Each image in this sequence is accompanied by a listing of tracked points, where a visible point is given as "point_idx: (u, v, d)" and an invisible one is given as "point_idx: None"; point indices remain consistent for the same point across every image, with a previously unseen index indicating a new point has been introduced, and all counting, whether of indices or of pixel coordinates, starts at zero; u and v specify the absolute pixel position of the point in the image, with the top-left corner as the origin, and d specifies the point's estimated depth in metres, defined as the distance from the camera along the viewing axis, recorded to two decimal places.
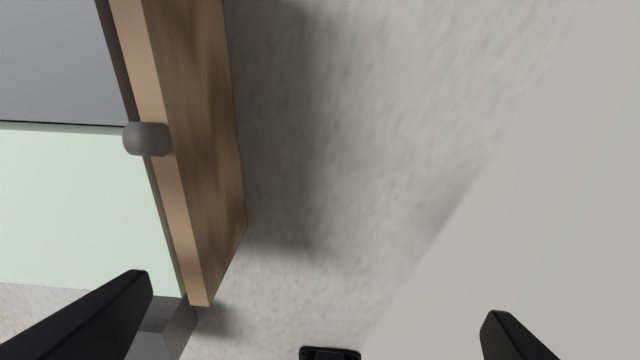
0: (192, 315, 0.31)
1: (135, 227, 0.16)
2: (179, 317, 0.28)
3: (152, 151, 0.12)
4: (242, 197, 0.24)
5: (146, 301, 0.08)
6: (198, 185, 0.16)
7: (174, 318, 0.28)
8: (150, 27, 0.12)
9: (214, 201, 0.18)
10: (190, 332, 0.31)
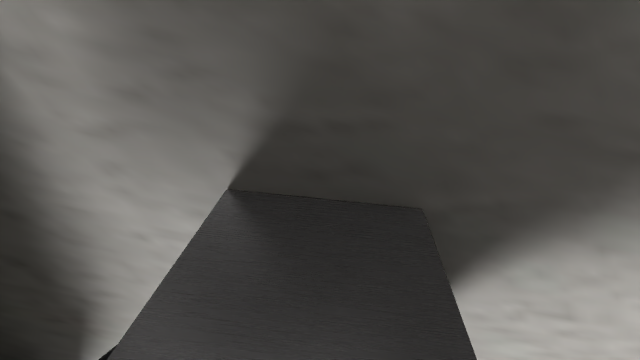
0: (356, 217, 0.07)
1: None
2: (240, 264, 0.06)
3: None
4: None
5: None
6: None
7: (193, 286, 0.05)
8: None
9: None
10: (421, 251, 0.06)
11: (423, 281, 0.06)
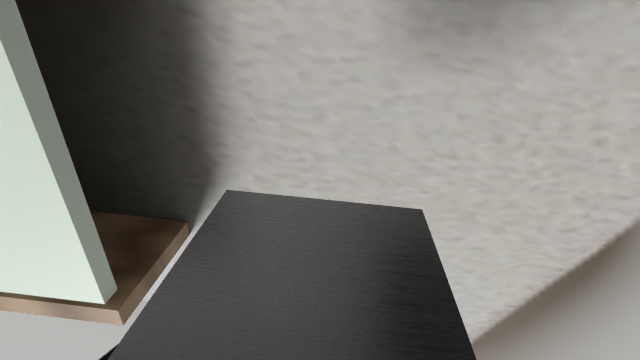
0: (356, 217, 0.07)
1: None
2: (241, 264, 0.06)
3: None
4: None
5: None
6: None
7: (193, 286, 0.05)
8: None
9: None
10: (421, 251, 0.06)
11: (423, 281, 0.06)
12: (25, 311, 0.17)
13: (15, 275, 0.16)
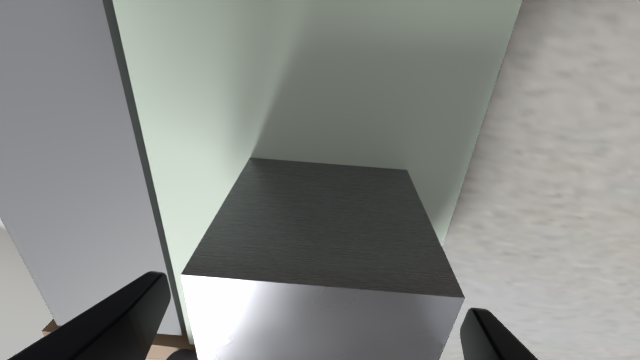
0: (356, 175, 0.09)
1: (311, 39, 0.08)
2: (272, 203, 0.08)
3: None
4: None
5: (164, 303, 0.08)
6: None
7: (240, 216, 0.07)
8: None
9: None
10: (406, 195, 0.08)
11: (408, 212, 0.08)
12: None
13: None
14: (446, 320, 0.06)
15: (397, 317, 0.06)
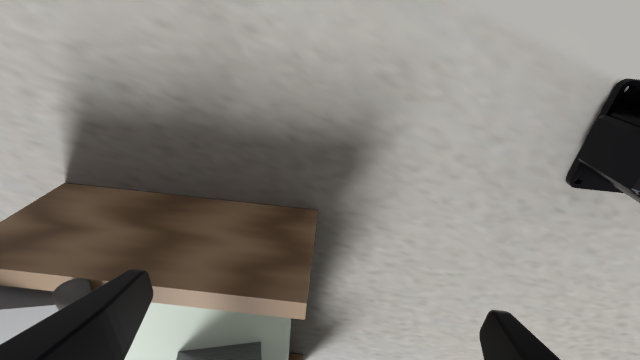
0: (234, 354, 0.19)
1: (203, 309, 0.18)
2: None
3: (65, 302, 0.14)
4: (274, 209, 0.22)
5: (146, 301, 0.08)
6: (165, 264, 0.16)
7: None
8: (4, 265, 0.15)
9: (212, 250, 0.18)
10: None
11: None
12: None
13: None
14: None
15: None
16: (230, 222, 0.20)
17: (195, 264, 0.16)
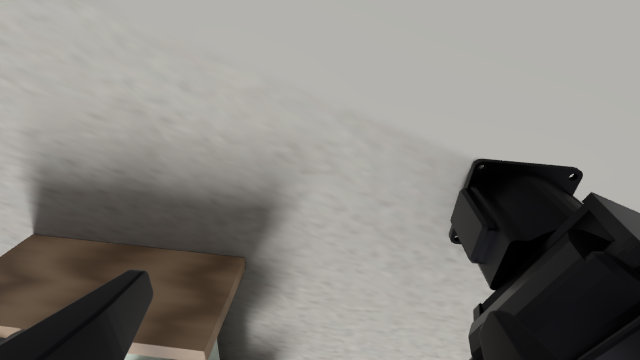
0: None
1: None
2: None
3: None
4: (206, 257, 0.25)
5: (146, 301, 0.08)
6: None
7: None
8: None
9: None
10: None
11: None
12: None
13: None
14: None
15: None
16: (164, 272, 0.23)
17: None
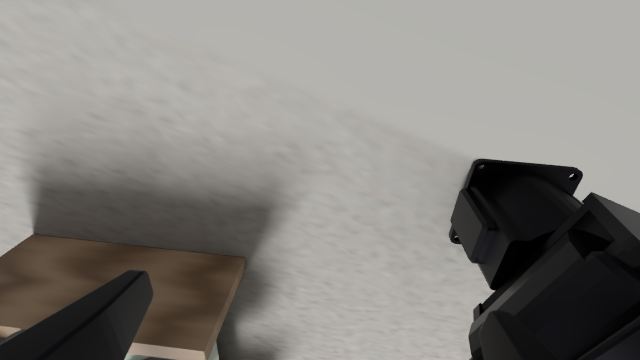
0: None
1: None
2: None
3: None
4: (206, 257, 0.25)
5: (146, 301, 0.08)
6: None
7: None
8: None
9: None
10: None
11: None
12: None
13: None
14: None
15: None
16: (164, 272, 0.23)
17: None
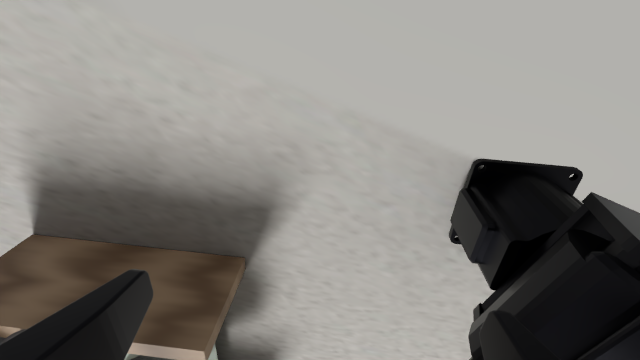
0: None
1: None
2: None
3: None
4: (206, 257, 0.25)
5: (146, 301, 0.08)
6: None
7: None
8: None
9: None
10: None
11: None
12: None
13: None
14: None
15: None
16: (164, 272, 0.23)
17: None
